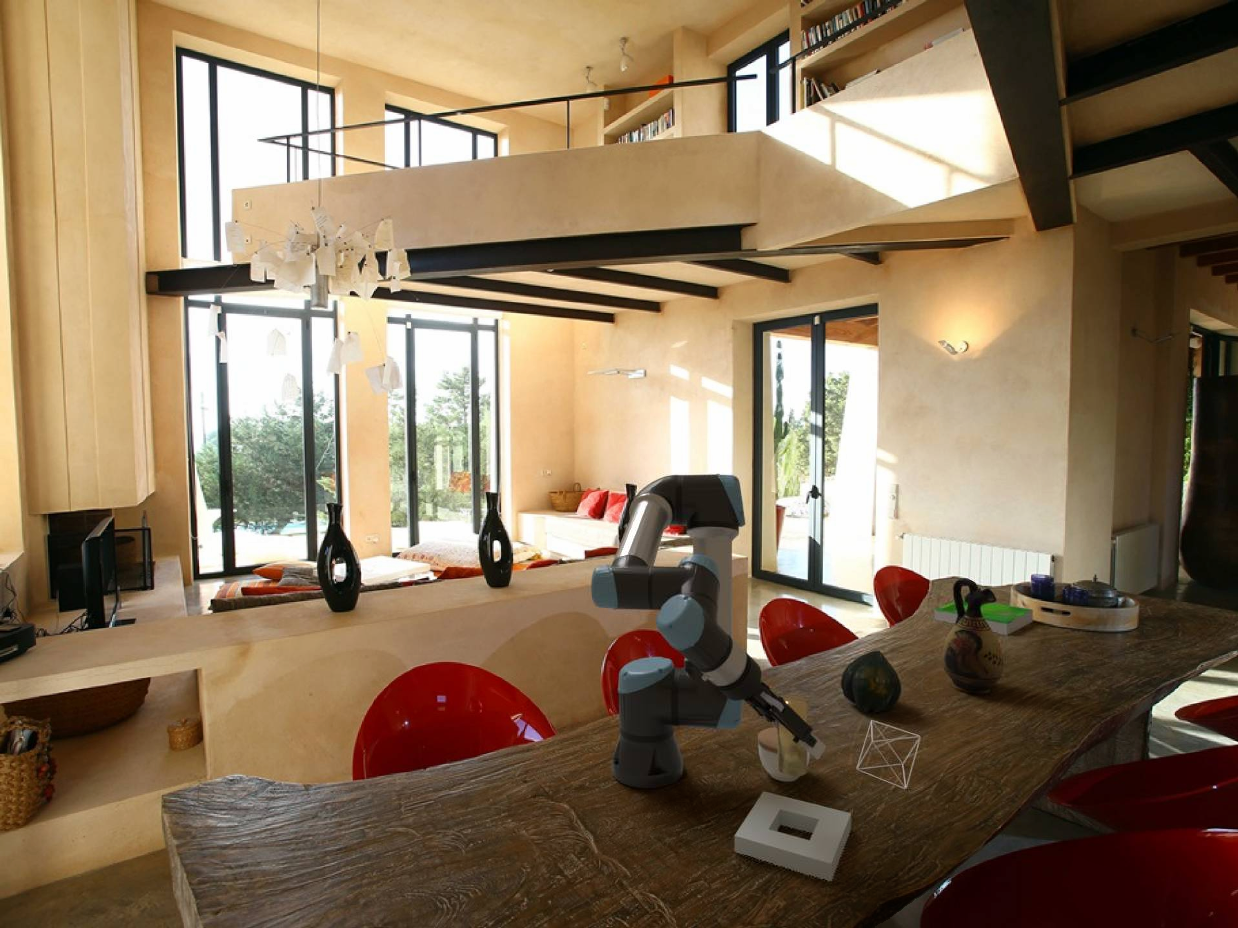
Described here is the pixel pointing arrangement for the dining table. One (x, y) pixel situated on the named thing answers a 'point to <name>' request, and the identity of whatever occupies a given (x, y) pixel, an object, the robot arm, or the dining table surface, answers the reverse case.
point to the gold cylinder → (792, 742)
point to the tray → (991, 616)
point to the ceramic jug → (972, 643)
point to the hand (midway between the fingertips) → (809, 745)
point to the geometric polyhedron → (893, 751)
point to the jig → (792, 851)
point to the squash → (871, 682)
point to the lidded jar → (772, 754)
